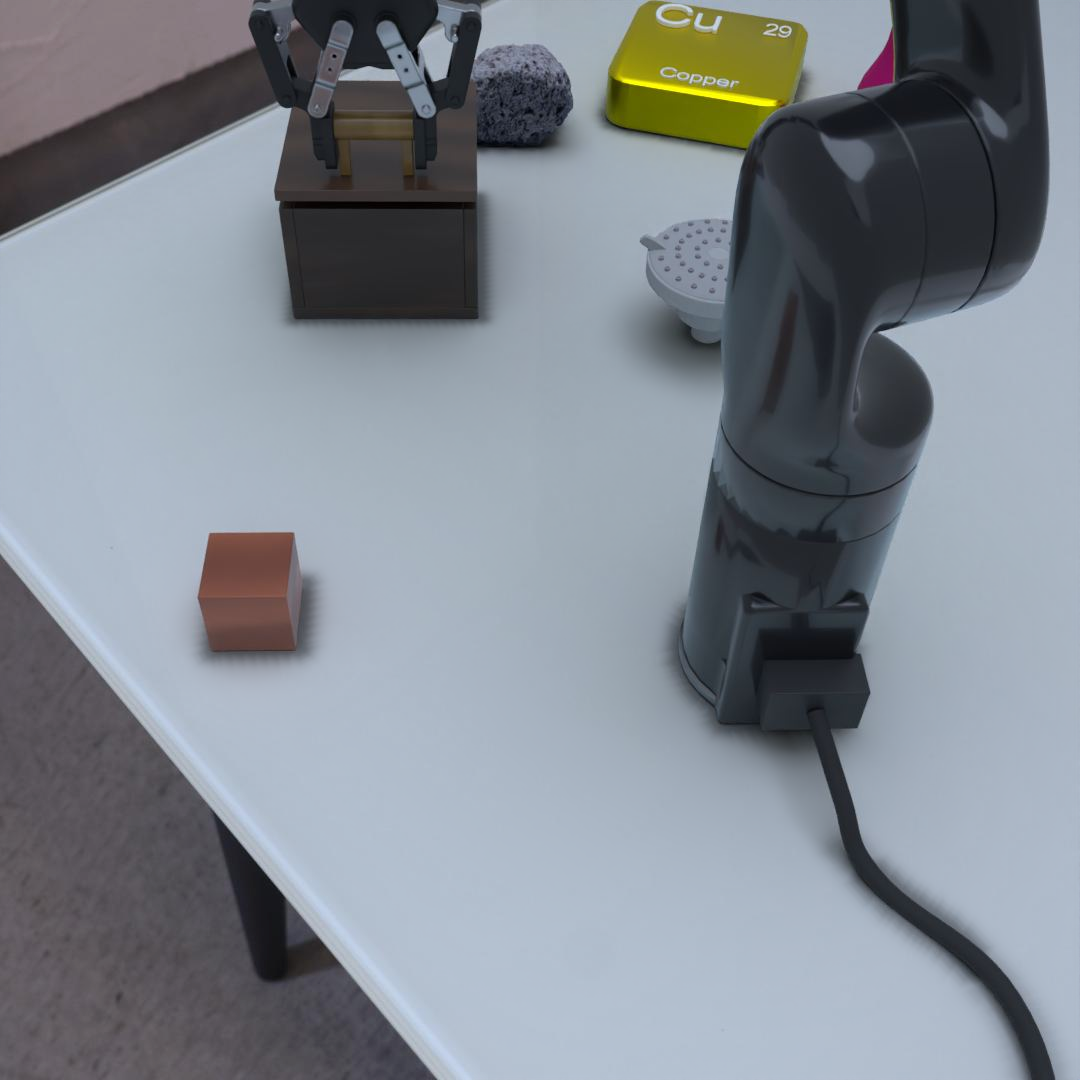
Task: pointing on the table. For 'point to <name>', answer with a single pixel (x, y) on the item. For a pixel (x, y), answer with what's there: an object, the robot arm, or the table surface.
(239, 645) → the block
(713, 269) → the showerhead
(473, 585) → the table surface
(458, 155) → the lid
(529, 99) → the pumice stone
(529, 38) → the table surface
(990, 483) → the table surface
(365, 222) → the chest
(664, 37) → the element tile
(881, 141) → the robot arm
